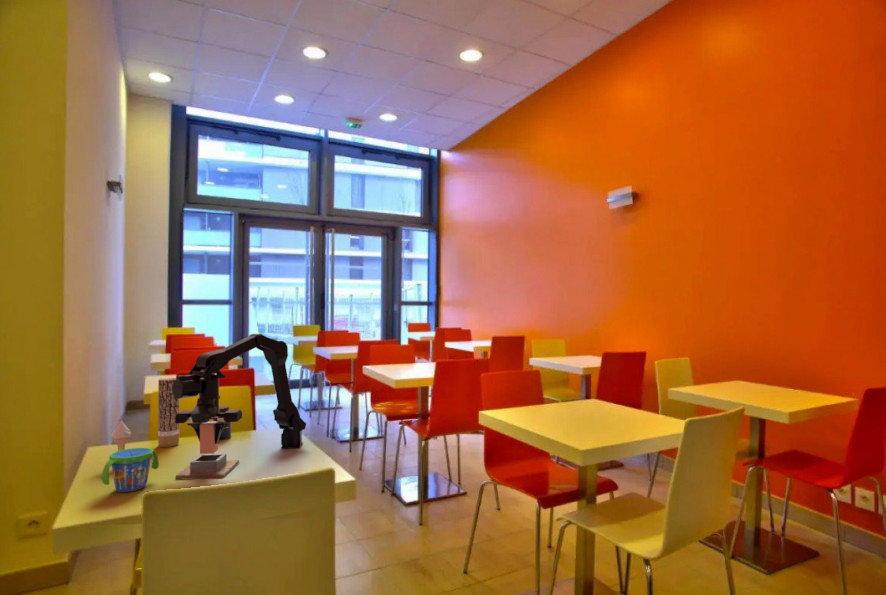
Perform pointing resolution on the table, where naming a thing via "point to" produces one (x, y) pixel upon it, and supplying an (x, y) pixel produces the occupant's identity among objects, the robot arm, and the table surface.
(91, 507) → the table surface
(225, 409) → the supplement bottle
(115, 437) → the ice cream cone
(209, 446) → the red post
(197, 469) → the square socket base
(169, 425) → the paper tube
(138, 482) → the snack cup
